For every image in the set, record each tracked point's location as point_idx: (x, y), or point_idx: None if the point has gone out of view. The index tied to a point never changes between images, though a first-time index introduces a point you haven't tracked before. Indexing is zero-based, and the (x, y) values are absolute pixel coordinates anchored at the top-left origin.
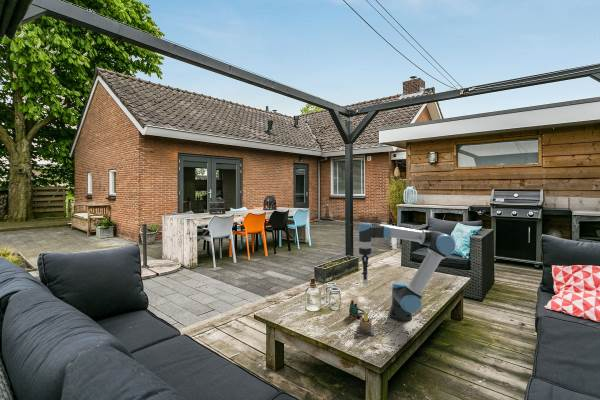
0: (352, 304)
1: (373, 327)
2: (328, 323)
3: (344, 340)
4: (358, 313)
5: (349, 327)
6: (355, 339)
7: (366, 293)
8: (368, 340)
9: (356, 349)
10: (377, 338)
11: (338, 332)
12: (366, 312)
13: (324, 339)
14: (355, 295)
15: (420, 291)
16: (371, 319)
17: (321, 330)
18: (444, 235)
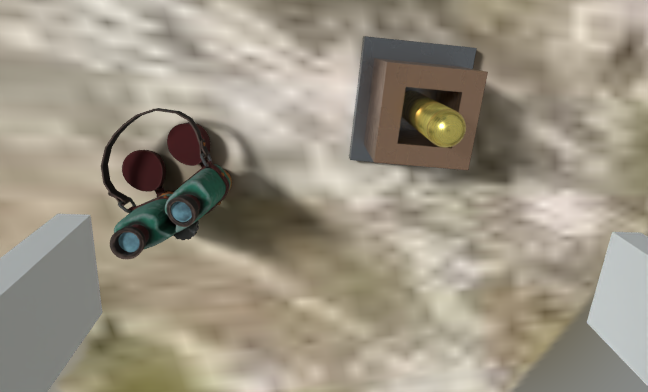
0: (150, 232)
1: (366, 41)
2: (327, 339)
3: (536, 238)
4: (209, 162)
5: (363, 212)
6: (522, 174)
7: None
8: (533, 89)
9: (639, 169)
10: (504, 22)
11: (440, 276)
12: (457, 125)
13: (527, 342)
14: None
15: None
16: (408, 65)
17: (424, 367)
18: None
